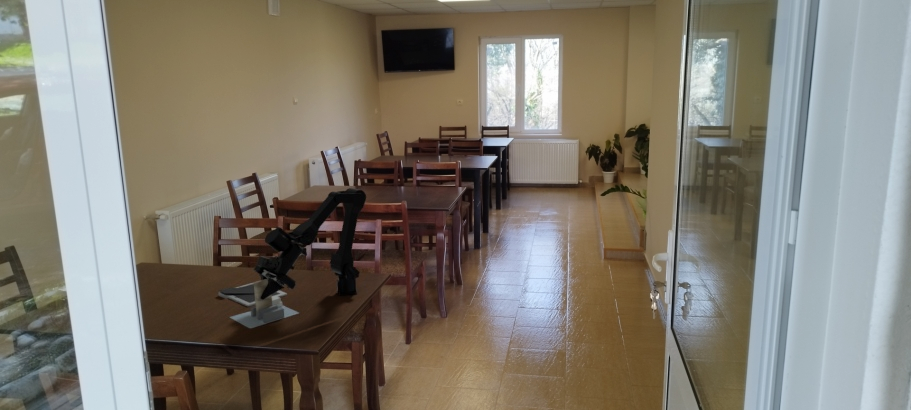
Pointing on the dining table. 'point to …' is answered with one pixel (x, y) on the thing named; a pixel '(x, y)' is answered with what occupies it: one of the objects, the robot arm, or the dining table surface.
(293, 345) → the dining table surface
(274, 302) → the offcut stack
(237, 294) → the picture frame
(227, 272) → the dining table surface
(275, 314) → the slot rack
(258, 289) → the birch panel
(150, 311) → the dining table surface
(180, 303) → the dining table surface
